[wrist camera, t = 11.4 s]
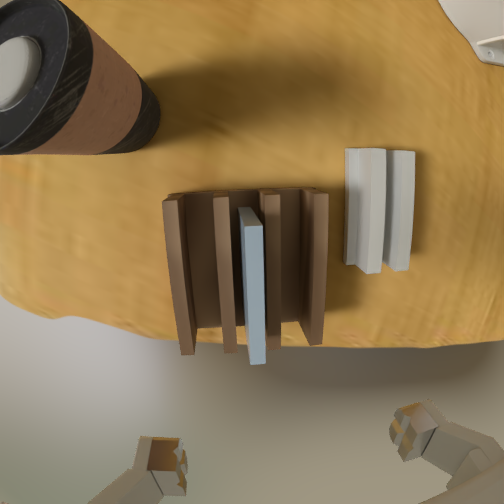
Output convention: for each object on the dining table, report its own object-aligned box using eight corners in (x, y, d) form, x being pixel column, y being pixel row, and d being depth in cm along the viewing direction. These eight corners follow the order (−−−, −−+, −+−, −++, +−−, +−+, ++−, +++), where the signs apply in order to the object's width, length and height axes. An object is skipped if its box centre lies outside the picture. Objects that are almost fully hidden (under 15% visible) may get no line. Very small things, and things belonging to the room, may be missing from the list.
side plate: (250, 206, 29) (262, 225, 21) (254, 312, 33) (265, 363, 24) (237, 207, 29) (244, 226, 21) (242, 313, 32) (250, 364, 24)
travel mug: (169, 83, 26) (97, -24, 7) (157, 158, 28) (51, 158, 9) (98, 81, 25) (-28, 12, 6) (86, 153, 27) (-62, 160, 8)
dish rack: (312, 187, 30) (333, 193, 25) (310, 315, 34) (325, 343, 29) (169, 194, 29) (157, 201, 24) (183, 324, 33) (177, 355, 28)
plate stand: (402, 152, 30) (422, 152, 26) (397, 258, 34) (415, 269, 30) (344, 148, 30) (361, 147, 26) (343, 262, 33) (357, 274, 29)
